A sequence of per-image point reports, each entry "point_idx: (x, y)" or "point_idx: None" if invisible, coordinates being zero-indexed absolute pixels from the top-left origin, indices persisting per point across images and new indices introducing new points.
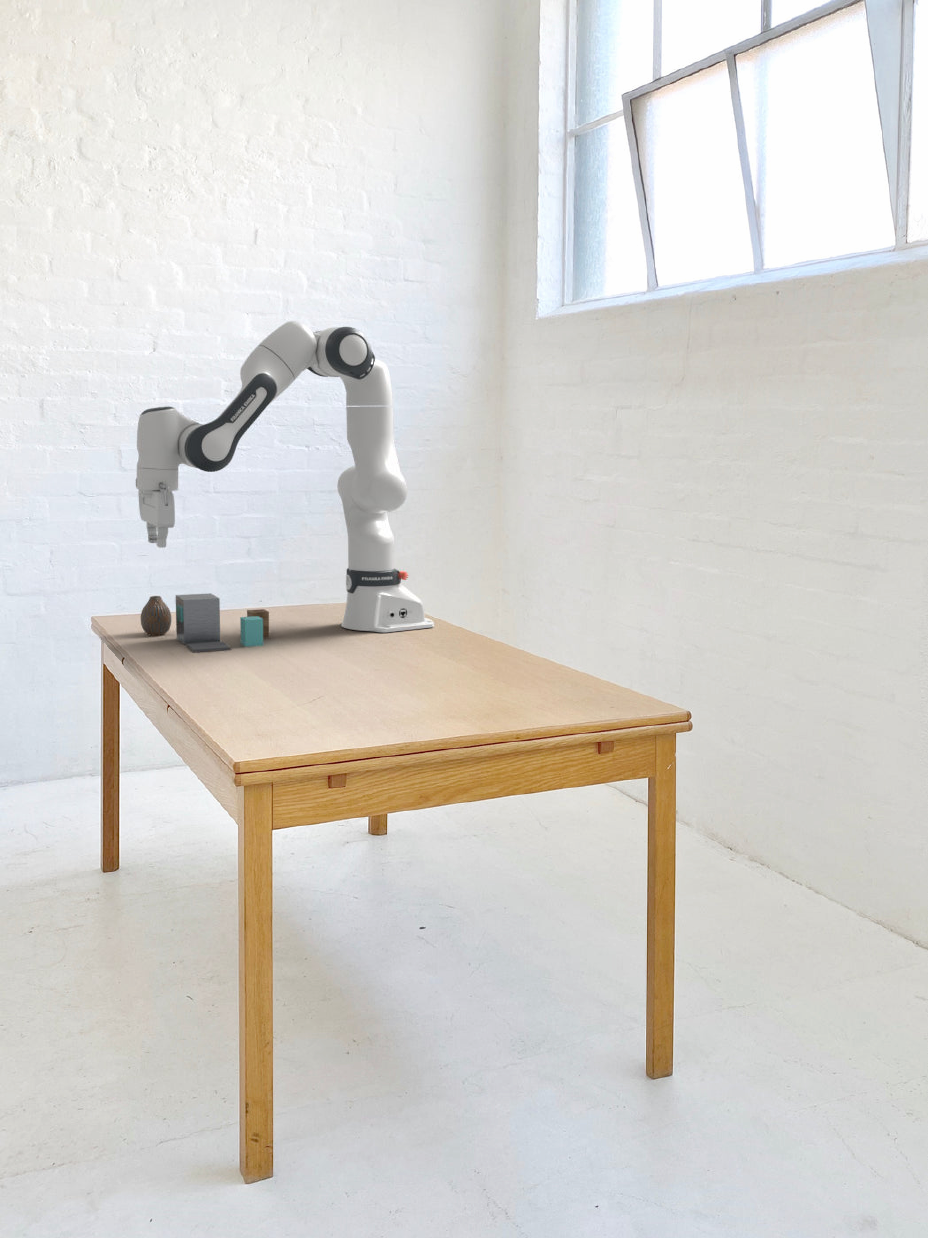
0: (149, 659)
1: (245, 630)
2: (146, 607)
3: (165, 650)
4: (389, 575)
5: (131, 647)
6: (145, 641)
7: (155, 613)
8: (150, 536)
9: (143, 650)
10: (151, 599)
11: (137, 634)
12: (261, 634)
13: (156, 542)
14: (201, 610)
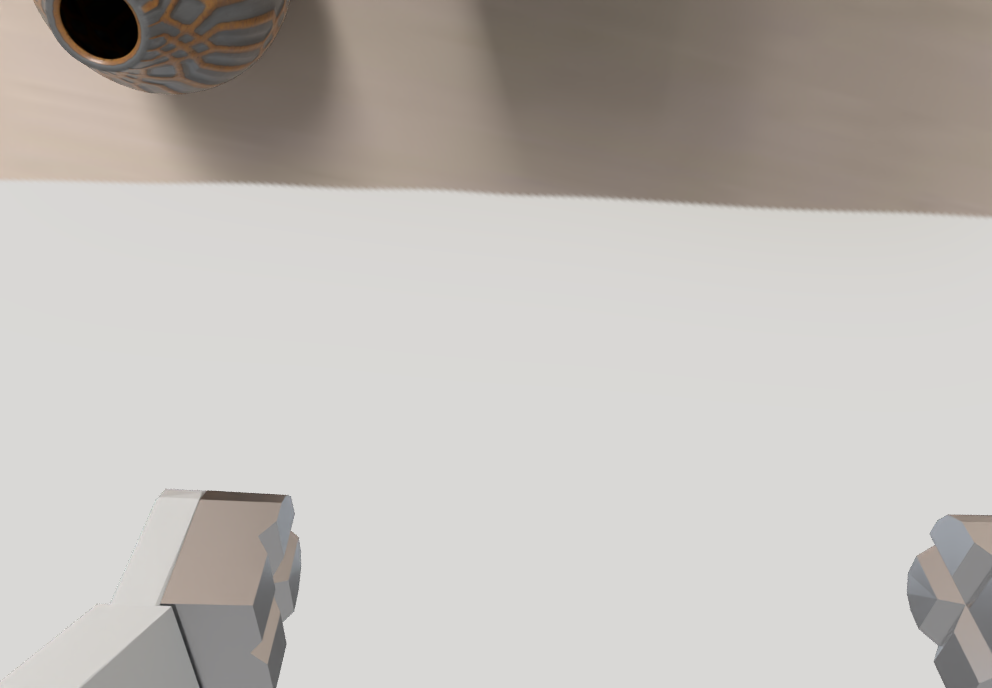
0: (984, 168)
1: None
2: (191, 83)
3: (805, 25)
4: None
5: (610, 179)
6: (458, 67)
7: (265, 13)
8: (276, 661)
9: (729, 141)
10: (149, 62)
11: None
12: None
13: (284, 496)
14: None
